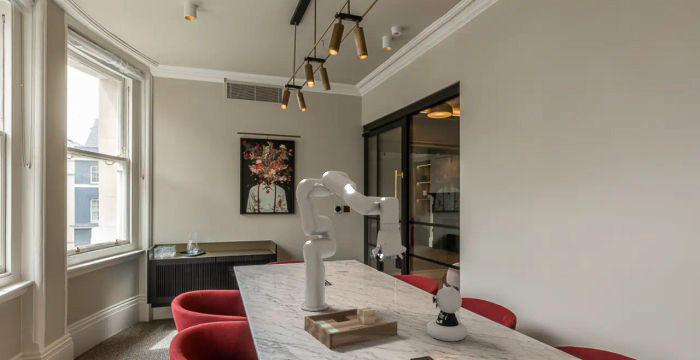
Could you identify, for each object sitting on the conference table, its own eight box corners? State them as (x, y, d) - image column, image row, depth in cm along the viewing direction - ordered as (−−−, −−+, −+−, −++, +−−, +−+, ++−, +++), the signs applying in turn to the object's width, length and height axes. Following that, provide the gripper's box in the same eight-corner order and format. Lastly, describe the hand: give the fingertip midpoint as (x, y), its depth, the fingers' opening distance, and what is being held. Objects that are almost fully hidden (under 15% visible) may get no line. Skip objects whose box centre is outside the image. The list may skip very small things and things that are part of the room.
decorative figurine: (422, 329, 150) (422, 277, 151) (458, 328, 152) (458, 277, 153) (433, 343, 136) (433, 286, 137) (473, 343, 137) (473, 285, 138)
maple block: (357, 320, 151) (357, 307, 151) (367, 319, 153) (367, 306, 153) (363, 324, 146) (363, 311, 147) (374, 322, 149) (374, 309, 149)
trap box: (304, 329, 149) (304, 316, 149) (366, 319, 163) (366, 307, 163) (330, 349, 130) (330, 334, 130) (397, 335, 144) (397, 321, 144)
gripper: (399, 226, 165) (399, 266, 164) (367, 227, 156) (367, 270, 155) (411, 227, 159) (411, 269, 158) (378, 228, 149) (379, 273, 148)
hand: (389, 269), depth 156 cm, fingers open, 9 cm apart
